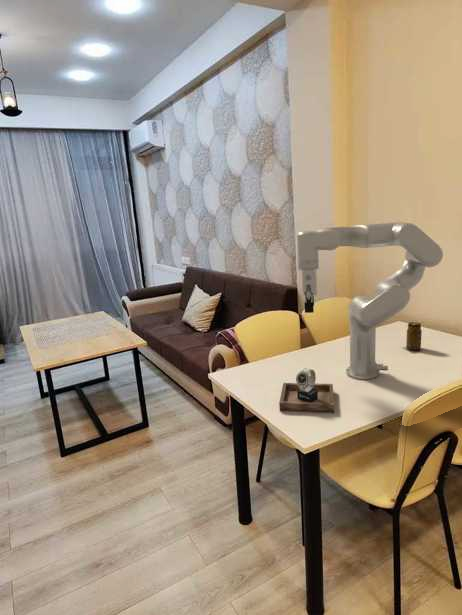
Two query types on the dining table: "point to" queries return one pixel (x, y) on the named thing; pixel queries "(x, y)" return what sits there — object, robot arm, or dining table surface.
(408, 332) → the condiment
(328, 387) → the tray
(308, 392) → the watch
